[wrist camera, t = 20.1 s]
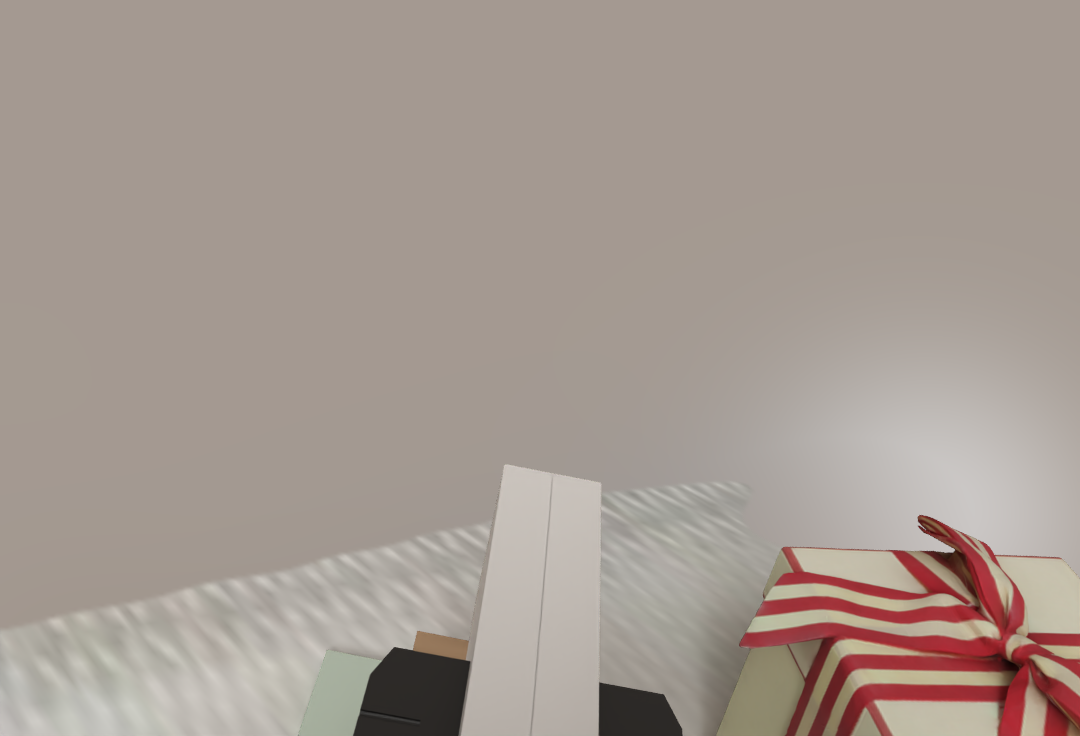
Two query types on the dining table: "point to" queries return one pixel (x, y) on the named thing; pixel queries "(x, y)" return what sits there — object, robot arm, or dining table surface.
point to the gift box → (912, 644)
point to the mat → (337, 695)
